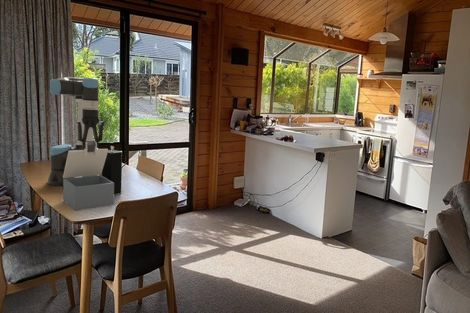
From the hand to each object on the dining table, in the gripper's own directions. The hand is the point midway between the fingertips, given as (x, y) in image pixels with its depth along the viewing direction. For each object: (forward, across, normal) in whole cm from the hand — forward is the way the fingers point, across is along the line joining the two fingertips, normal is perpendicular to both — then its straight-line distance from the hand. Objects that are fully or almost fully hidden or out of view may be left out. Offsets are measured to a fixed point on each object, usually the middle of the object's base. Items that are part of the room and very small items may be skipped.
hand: (90, 154), depth 191 cm
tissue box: (+27, +17, +13) cm, 34 cm away
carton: (+26, 0, +2) cm, 27 cm away
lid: (+5, 0, +4) cm, 6 cm away
